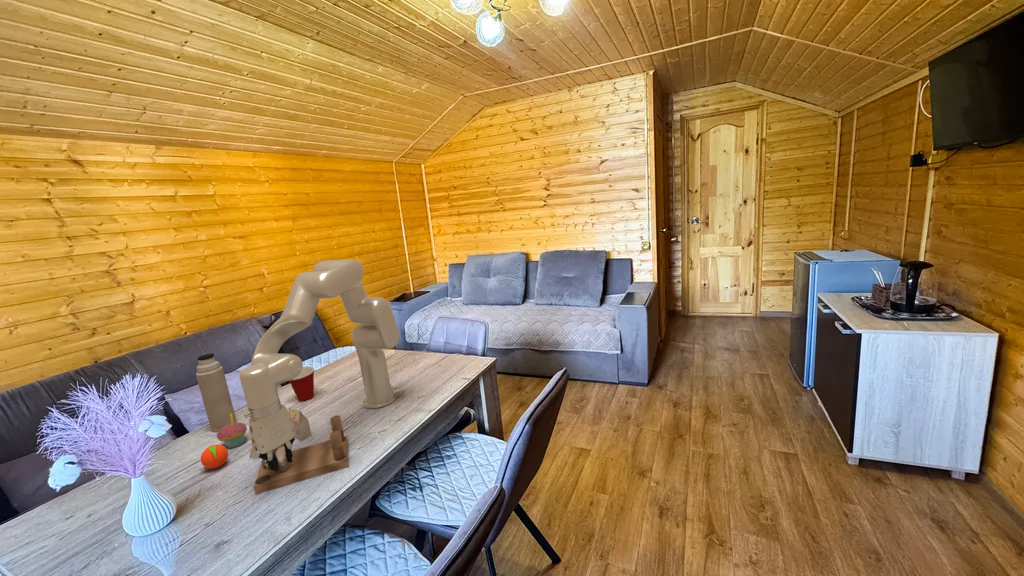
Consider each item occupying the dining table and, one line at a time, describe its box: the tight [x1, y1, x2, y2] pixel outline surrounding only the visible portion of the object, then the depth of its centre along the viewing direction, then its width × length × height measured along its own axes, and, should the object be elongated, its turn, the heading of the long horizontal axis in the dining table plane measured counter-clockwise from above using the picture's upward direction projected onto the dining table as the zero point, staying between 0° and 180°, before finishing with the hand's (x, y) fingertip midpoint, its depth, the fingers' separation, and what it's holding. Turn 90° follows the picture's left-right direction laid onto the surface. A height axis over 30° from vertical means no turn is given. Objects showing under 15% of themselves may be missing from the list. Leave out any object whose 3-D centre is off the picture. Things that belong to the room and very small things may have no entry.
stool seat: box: [253, 415, 349, 495], centre depth 123 cm, size 24×14×10 cm, turn 112°
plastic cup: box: [288, 366, 315, 403], centre depth 170 cm, size 11×11×12 cm
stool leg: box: [261, 444, 289, 472], centre depth 119 cm, size 9×3×9 cm, turn 70°
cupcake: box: [216, 414, 248, 449], centre depth 140 cm, size 9×8×12 cm
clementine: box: [200, 444, 229, 470], centre depth 128 cm, size 8×7×7 cm
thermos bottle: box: [195, 353, 238, 433], centre depth 151 cm, size 8×8×28 cm
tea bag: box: [288, 407, 313, 442], centre depth 141 cm, size 4×7×10 cm, turn 56°
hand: (281, 464), depth 119 cm, fingers open, 3 cm apart
